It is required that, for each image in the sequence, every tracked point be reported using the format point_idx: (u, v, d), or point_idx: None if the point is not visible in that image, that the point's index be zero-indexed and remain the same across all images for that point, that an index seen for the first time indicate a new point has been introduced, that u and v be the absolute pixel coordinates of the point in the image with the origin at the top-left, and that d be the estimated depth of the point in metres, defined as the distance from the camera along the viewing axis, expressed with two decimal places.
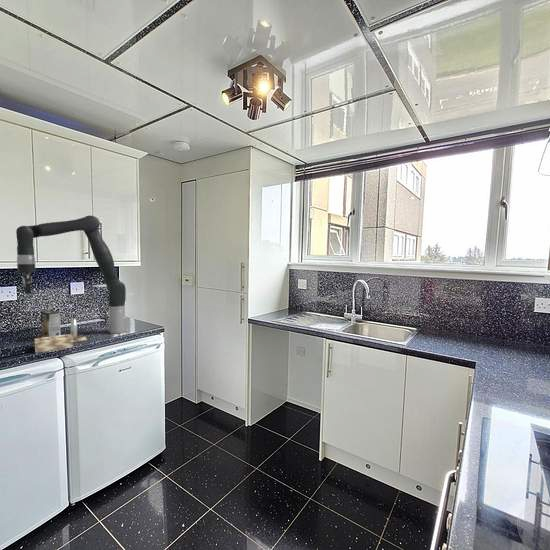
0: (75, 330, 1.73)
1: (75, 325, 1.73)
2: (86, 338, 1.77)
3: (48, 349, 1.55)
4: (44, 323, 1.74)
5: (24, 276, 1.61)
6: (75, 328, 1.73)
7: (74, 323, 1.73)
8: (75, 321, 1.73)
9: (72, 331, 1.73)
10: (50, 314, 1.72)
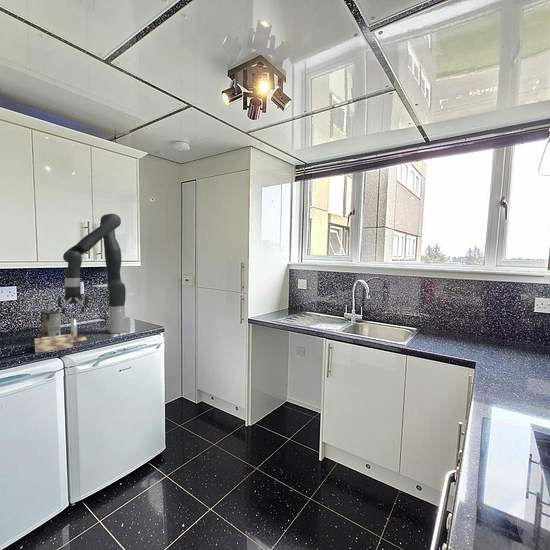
0: (75, 330, 1.73)
1: (75, 325, 1.73)
2: (86, 338, 1.77)
3: (48, 349, 1.55)
4: (44, 323, 1.74)
5: (77, 297, 1.73)
6: (75, 328, 1.73)
7: (74, 323, 1.73)
8: (75, 321, 1.73)
9: (72, 331, 1.73)
10: (50, 314, 1.72)
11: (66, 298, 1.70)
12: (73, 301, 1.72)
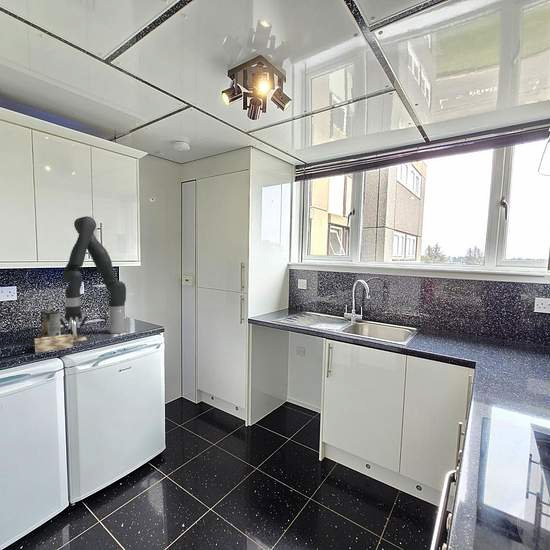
0: (75, 330, 1.73)
1: (75, 325, 1.73)
2: (86, 338, 1.77)
3: (48, 349, 1.55)
4: (44, 323, 1.74)
5: (78, 317, 1.74)
6: (75, 328, 1.73)
7: (74, 323, 1.73)
8: (75, 321, 1.73)
9: (72, 331, 1.73)
10: (50, 314, 1.72)
11: (67, 318, 1.71)
12: None
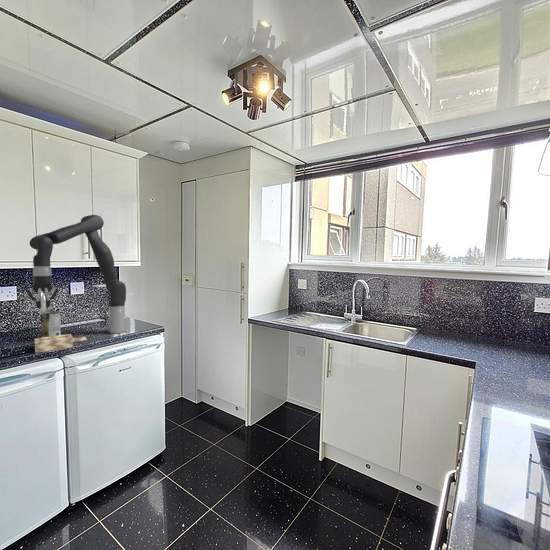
0: (44, 303, 1.56)
1: (44, 297, 1.56)
2: (86, 338, 1.77)
3: (48, 349, 1.55)
4: (44, 323, 1.74)
5: (47, 289, 1.57)
6: (44, 301, 1.56)
7: (43, 295, 1.56)
8: (44, 293, 1.56)
9: (41, 304, 1.56)
10: (50, 314, 1.72)
11: (34, 289, 1.54)
12: None
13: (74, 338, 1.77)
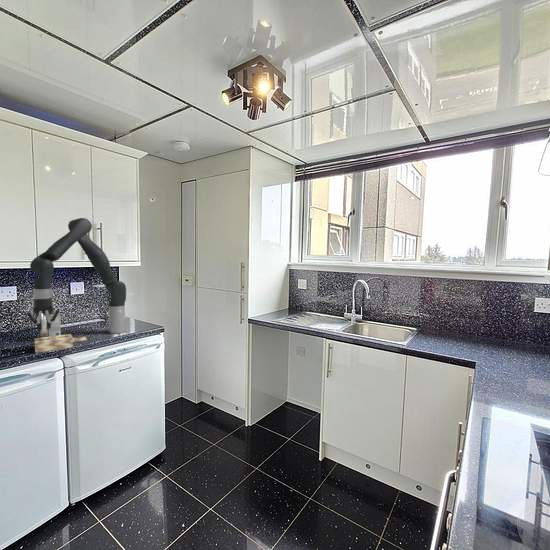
0: (45, 325, 1.57)
1: (45, 319, 1.57)
2: (86, 338, 1.77)
3: (48, 349, 1.55)
4: None
5: (48, 311, 1.58)
6: (45, 323, 1.57)
7: (44, 317, 1.56)
8: (45, 315, 1.57)
9: (42, 326, 1.56)
10: (50, 314, 1.72)
11: (35, 311, 1.54)
12: None
13: (74, 338, 1.77)
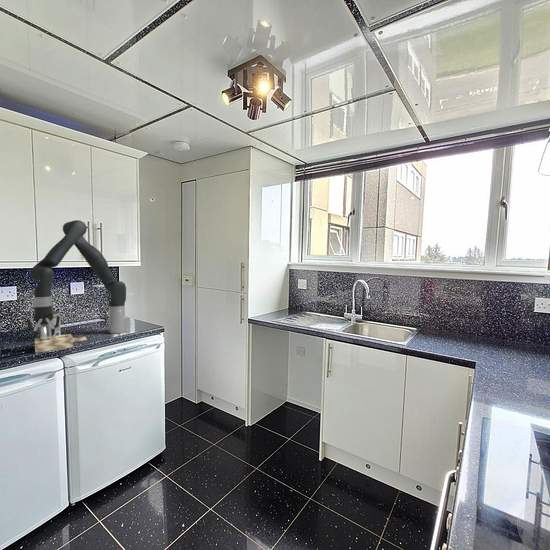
0: (45, 338, 1.57)
1: (45, 333, 1.57)
2: (86, 338, 1.77)
3: (48, 349, 1.55)
4: None
5: (48, 318, 1.58)
6: (45, 336, 1.57)
7: (44, 331, 1.57)
8: (45, 328, 1.57)
9: (42, 339, 1.57)
10: None
11: (36, 319, 1.55)
12: (44, 322, 1.57)
13: (74, 338, 1.77)
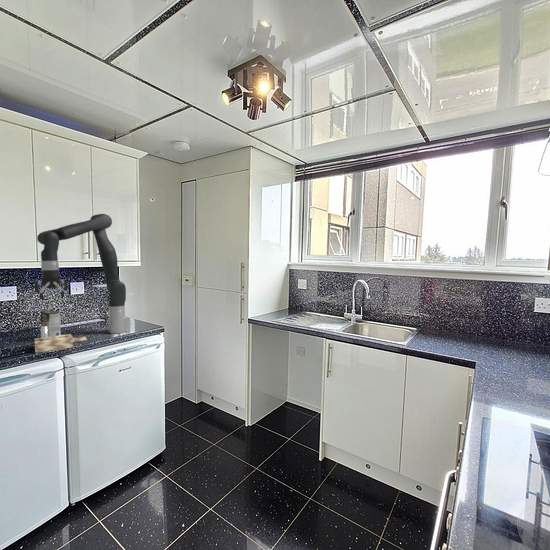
0: (46, 338, 1.58)
1: (46, 333, 1.58)
2: (86, 338, 1.77)
3: (48, 349, 1.55)
4: (44, 323, 1.74)
5: (56, 282, 1.62)
6: (46, 336, 1.58)
7: (45, 331, 1.57)
8: (46, 328, 1.57)
9: (42, 339, 1.57)
10: (50, 314, 1.72)
11: (43, 282, 1.58)
12: (51, 286, 1.61)
13: (74, 338, 1.77)
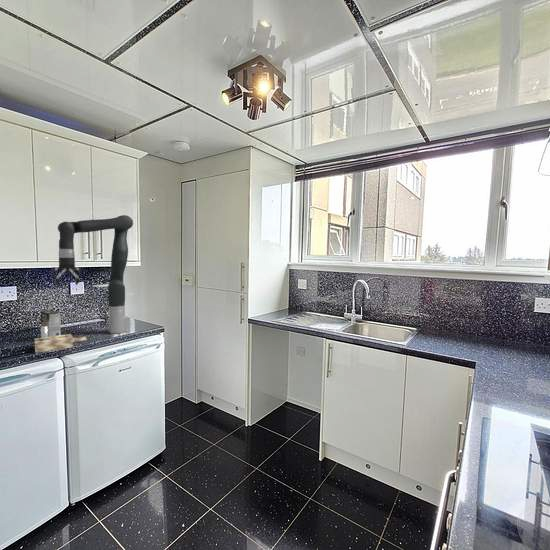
0: (46, 338, 1.58)
1: (46, 333, 1.58)
2: (86, 338, 1.77)
3: (48, 349, 1.55)
4: (44, 323, 1.74)
5: (71, 269, 1.74)
6: (46, 336, 1.58)
7: (45, 331, 1.57)
8: (46, 328, 1.57)
9: (42, 339, 1.57)
10: (50, 314, 1.72)
11: (60, 269, 1.70)
12: (67, 272, 1.73)
13: (74, 338, 1.77)
